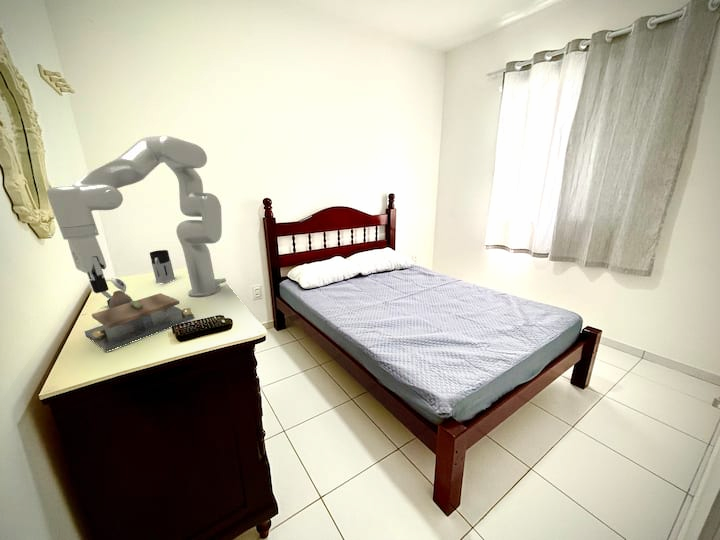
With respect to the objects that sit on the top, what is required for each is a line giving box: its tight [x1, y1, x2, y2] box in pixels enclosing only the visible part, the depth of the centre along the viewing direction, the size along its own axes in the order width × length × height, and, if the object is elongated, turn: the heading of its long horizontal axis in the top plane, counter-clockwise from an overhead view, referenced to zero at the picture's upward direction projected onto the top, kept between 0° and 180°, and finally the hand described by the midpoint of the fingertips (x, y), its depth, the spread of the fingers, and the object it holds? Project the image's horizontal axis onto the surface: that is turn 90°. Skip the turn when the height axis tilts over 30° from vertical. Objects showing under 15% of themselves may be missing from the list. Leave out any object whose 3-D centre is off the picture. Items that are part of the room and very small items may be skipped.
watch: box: [100, 277, 127, 309], centre depth 115 cm, size 6×8×11 cm
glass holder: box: [149, 249, 177, 284], centre depth 139 cm, size 9×14×15 cm, turn 24°
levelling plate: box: [91, 292, 181, 328], centre depth 95 cm, size 20×14×3 cm
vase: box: [108, 289, 134, 309], centre depth 107 cm, size 7×7×9 cm
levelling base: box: [83, 305, 195, 352], centre depth 97 cm, size 25×19×6 cm
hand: (101, 291), depth 87 cm, fingers closed
